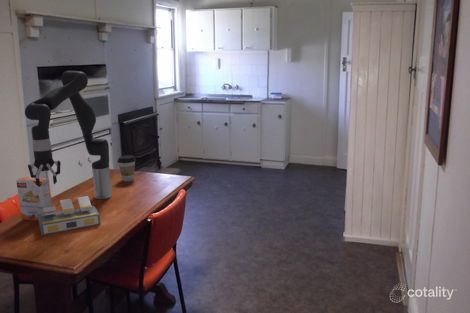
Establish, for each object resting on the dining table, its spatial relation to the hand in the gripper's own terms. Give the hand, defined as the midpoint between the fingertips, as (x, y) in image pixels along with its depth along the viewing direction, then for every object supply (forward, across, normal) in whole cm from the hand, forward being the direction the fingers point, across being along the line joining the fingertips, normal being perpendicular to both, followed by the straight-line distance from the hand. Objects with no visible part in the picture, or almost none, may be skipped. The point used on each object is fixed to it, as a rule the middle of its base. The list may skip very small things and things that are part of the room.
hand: (46, 184), depth 207 cm
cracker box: (+22, +5, -18) cm, 29 cm away
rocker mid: (+13, -8, -4) cm, 16 cm away
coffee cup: (+22, -52, -64) cm, 85 cm away
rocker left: (+14, 0, -3) cm, 14 cm away
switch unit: (+22, -8, -2) cm, 23 cm away
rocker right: (+14, -16, -4) cm, 22 cm away
